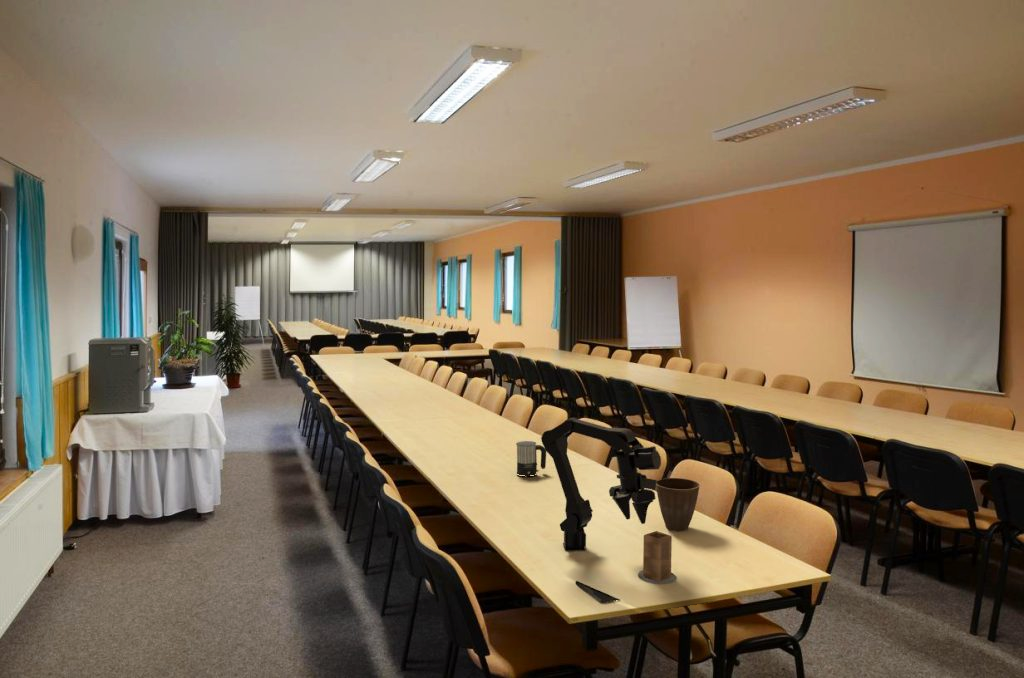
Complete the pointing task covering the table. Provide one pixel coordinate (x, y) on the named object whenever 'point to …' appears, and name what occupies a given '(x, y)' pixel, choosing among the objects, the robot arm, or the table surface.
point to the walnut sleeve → (657, 556)
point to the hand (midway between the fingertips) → (635, 521)
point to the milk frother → (529, 457)
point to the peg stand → (666, 581)
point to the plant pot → (677, 501)
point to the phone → (596, 593)
